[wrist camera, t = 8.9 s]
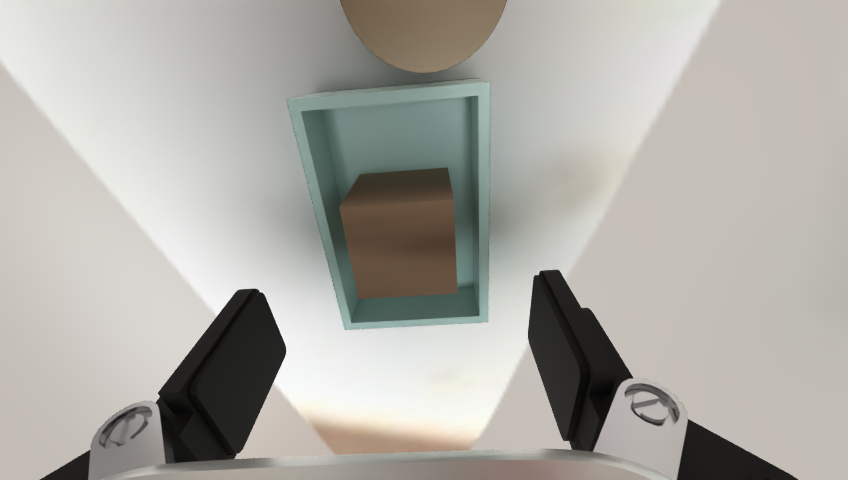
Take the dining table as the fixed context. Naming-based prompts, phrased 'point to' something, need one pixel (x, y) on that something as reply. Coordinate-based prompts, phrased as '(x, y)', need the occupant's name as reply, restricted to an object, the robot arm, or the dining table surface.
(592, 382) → the robot arm
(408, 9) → the beech dowel
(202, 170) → the dining table surface
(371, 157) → the tote
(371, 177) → the walnut cube
